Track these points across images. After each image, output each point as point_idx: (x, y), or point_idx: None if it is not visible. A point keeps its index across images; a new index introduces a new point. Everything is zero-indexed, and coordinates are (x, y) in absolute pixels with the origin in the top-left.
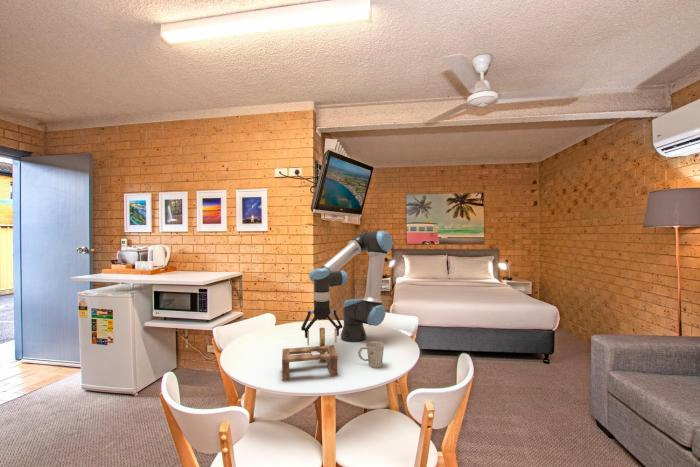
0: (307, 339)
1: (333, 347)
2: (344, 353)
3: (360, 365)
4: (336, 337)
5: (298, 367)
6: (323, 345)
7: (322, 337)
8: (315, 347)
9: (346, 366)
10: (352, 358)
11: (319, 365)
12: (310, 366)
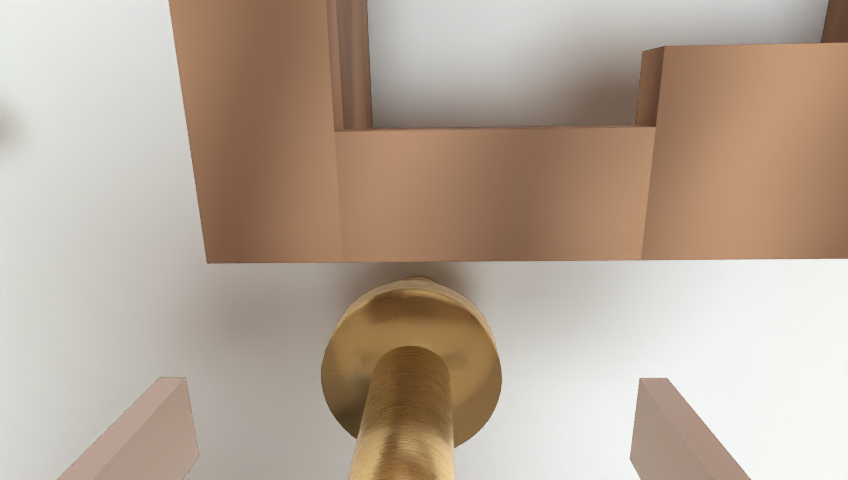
0: (718, 459)
1: (211, 129)
2: None
3: (7, 95)
4: (99, 445)
5: None
6: (392, 372)
7: (397, 463)
8: (558, 199)
9: (165, 99)
10: (98, 305)
11: None
12: None
